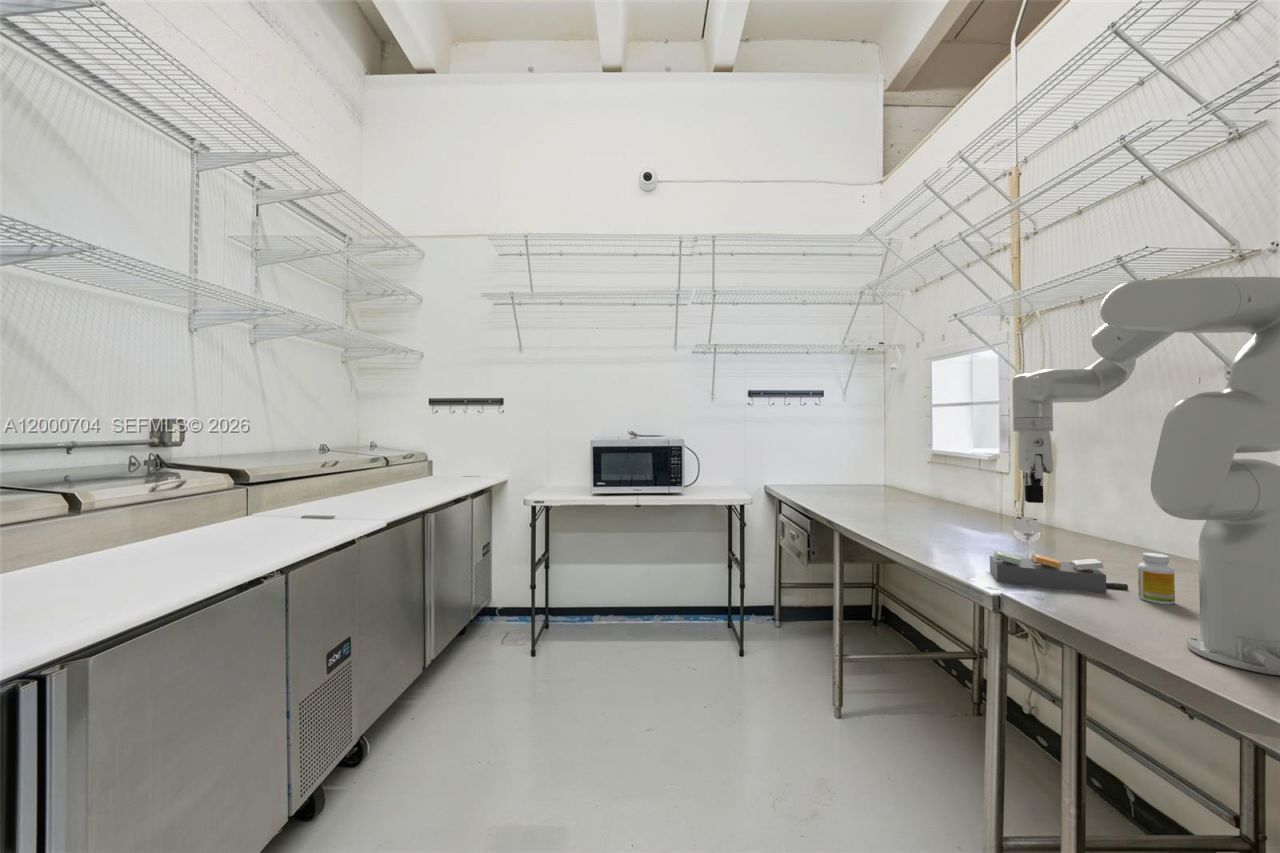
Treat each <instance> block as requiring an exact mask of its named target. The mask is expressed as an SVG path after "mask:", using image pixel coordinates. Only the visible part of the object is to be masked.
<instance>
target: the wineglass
mask: <svg viewBox="0 0 1280 853" xmlns="http://www.w3.org/2000/svg"><path fill="white" fill-rule="evenodd" d="M1013 534H1014V536H1015V538H1016V539H1018V540H1019V541H1021V542H1025V544H1024V547H1025V552H1026V555H1025V559H1030V557H1029V549H1030V544H1029V543H1033V542H1036V541H1038V540H1039V539H1040V538H1041V526H1040V524H1039V520H1038V519H1037V518H1034V517H1026V516H1025V517H1023V516H1021V517H1020V516H1018V517H1015V519H1014V524H1013Z"/></svg>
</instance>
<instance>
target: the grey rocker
mask: <svg viewBox="0 0 1280 853" xmlns="http://www.w3.org/2000/svg"><path fill="white" fill-rule="evenodd" d="M1070 562H1071V563H1072V566H1073V567H1075V568H1076V569H1077V570H1085V569H1104V565H1103V562H1101V560H1099V559H1098V558H1086V559H1085V558H1084V559H1075V560H1070Z"/></svg>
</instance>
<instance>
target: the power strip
mask: <svg viewBox="0 0 1280 853" xmlns="http://www.w3.org/2000/svg"><path fill="white" fill-rule="evenodd" d="M1018 558H1019V559H1020V560H1021V562H1020V565H1018V564H1014V563H1010V562H1007V561H1003V560H999V559H996V557H995V556H994V555H989V572H990V573H991V575H992V576H993V578H994V579H995V580H996V583H1003V584H1004V583H1005V584H1013V585H1015V584H1016V585H1025V586H1034V587H1041V588H1042V587H1044V588H1045V587H1046V588H1054V589H1063V590H1074V591H1084V592H1093V593H1102V594H1107V589H1115V590H1116V589H1118V590H1126V591H1127V590H1129V586H1128V584H1127V583H1120V582H1109V581H1107V574H1105V573H1104V572H1102V571H1101V570H1099V568H1097V569H1085V570H1077V569H1076V568H1075V567H1073V566H1072V563H1071V561H1070V562H1067V561H1059V562H1060V563H1061V566H1060V568H1056V567H1052V566H1048V565H1044V564H1040V563H1037V562H1035V561H1034V560H1033V559H1031V558H1029V559H1026V558H1020V557H1018Z"/></svg>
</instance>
